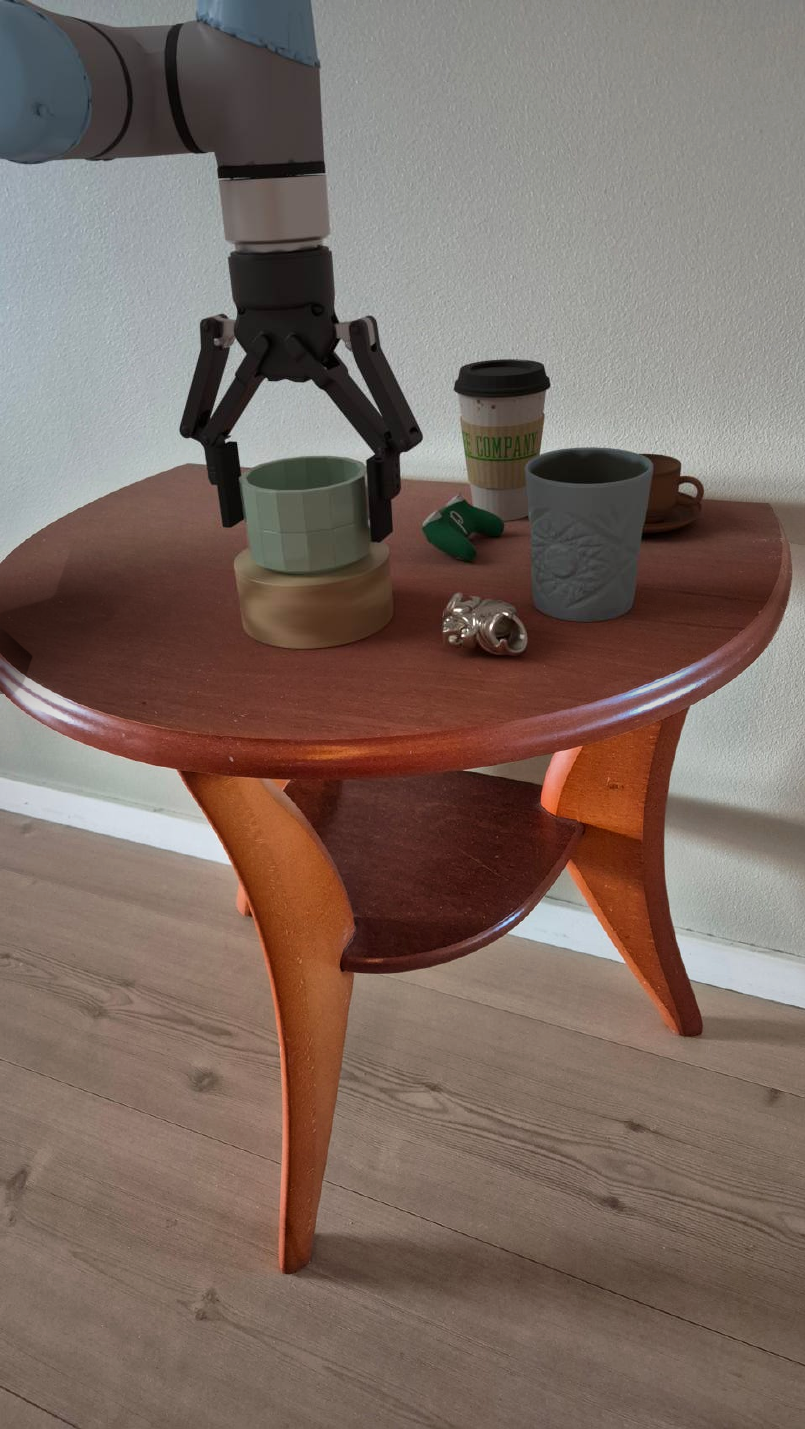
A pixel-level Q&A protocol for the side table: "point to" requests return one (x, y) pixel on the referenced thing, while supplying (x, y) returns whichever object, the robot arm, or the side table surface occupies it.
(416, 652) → the side table surface
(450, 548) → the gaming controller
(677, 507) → the cup and saucer
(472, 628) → the ornament
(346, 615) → the stand
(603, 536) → the blue-grey embossed tumbler
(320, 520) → the bowl
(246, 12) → the robot arm
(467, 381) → the coffee cup
